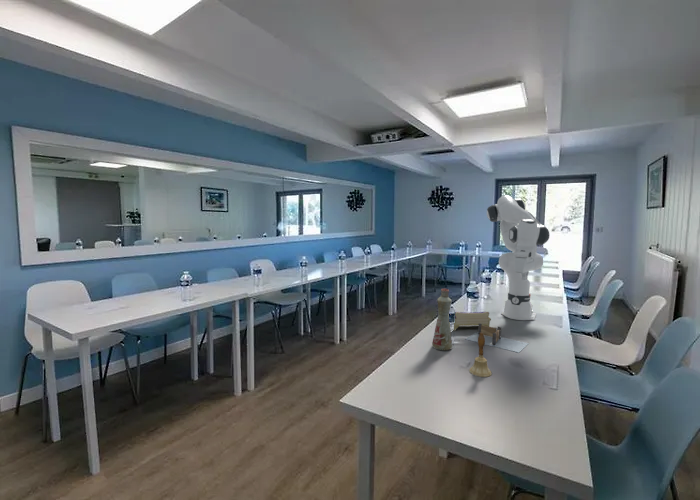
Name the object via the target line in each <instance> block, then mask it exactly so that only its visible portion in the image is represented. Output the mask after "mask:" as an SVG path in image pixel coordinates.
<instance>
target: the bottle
mask: <svg viewBox="0 0 700 500" xmlns="http://www.w3.org/2000/svg"><path fill="white" fill-rule="evenodd" d="M440 291H441V292H440V296H439V297H438V298H437V312H438V313H437V318H436V324H435V329H434V334H433V338H432V342H431V343H432V347H433V349H436V350H438V351H442V352H443V351H450V350H451V349H453V341H452V332H451V331H452V330H451V328H450V322H449V314H450V311H451V304H452V299H451V298H450V297H449V293H450V291H449V289H448V288H441V289H440Z"/></svg>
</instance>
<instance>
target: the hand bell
mask: <svg viewBox="0 0 700 500" xmlns="http://www.w3.org/2000/svg"><path fill="white" fill-rule="evenodd" d="M485 345H486V344H485V338H484V334H483V333H482V332H480V334H479V337H478V342H477V346H478V356H477V357H474V361H473V364H472V366H471V367H470V368H469V370H468V371H469V373H470V374H471V375H473V376H476V377H478V378H479V377H480V378H488V377H491V376H492V371H491V370H490V369H489V366H488V359H487V358H485V356H484V348H485Z"/></svg>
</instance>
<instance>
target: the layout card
mask: <svg viewBox="0 0 700 500" xmlns="http://www.w3.org/2000/svg"><path fill="white" fill-rule="evenodd" d="M478 337H479V334H478V331H475V332H474V333H472V334H471V335H469V336H467V337H466V338H465V340H467V341H471V342H474V343H478ZM484 338H485V345H486V346H491V347H494V348H498V349H500V350H501V349H502V350H506V351H510V352H515V353H517V354H519V353H520V352H522V350H524V349H525V348H526V347H527V346H528V345H529V344H530V343H528V342H524V341H519V340H514V339H512V338H508V337H507V338H506V337H502V336H501V339H499V340H498V341H497V342H496V345H493V344H492V338H493V337H491V336H487V335H484Z"/></svg>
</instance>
